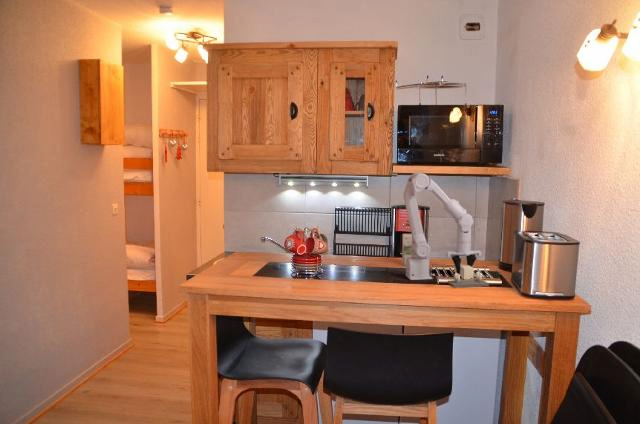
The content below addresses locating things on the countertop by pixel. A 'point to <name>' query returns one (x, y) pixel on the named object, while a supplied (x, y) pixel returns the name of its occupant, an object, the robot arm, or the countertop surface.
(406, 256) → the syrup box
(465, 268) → the beige rectangular block
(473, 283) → the peg stand
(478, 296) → the countertop surface
